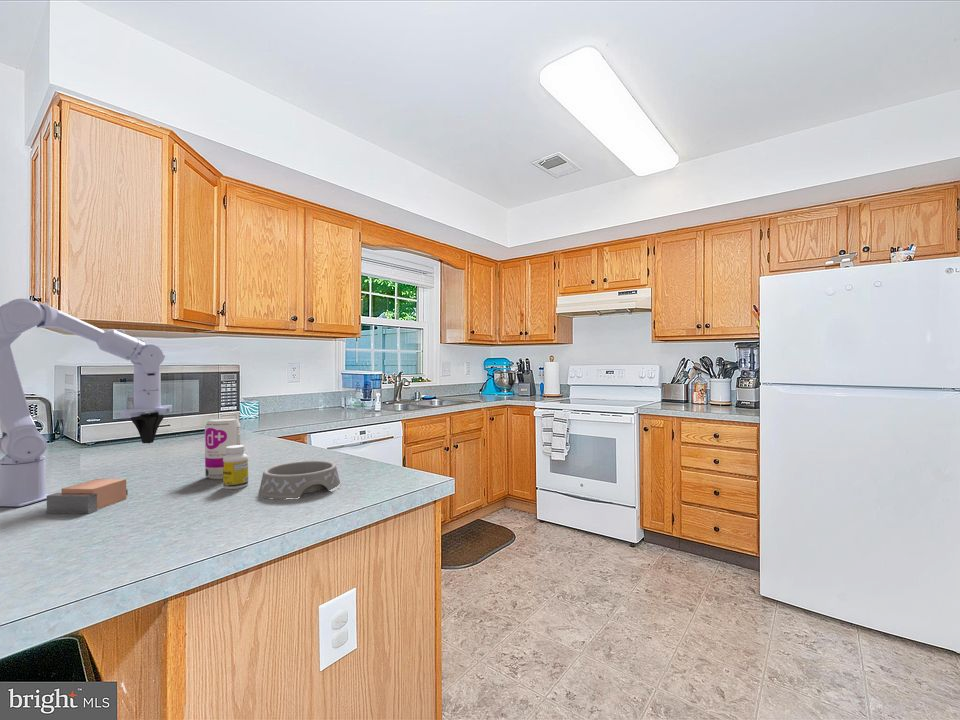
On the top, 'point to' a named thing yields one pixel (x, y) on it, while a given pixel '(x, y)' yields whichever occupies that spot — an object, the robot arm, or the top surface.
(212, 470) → the supplement can
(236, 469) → the supplement bottle
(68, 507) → the rail
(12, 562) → the top surface
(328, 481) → the dog bowl
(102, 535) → the top surface
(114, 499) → the block
